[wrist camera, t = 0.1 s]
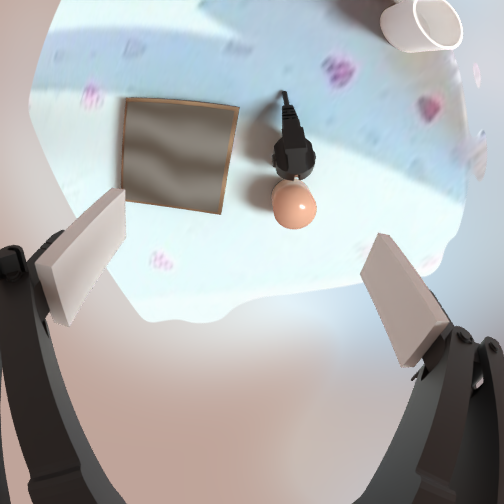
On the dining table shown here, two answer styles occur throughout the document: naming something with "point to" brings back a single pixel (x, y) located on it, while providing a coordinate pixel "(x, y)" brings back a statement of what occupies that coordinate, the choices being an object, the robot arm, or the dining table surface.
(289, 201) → the peach rounded cylinder
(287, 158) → the power plug
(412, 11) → the cup
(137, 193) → the stand
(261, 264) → the dining table surface
